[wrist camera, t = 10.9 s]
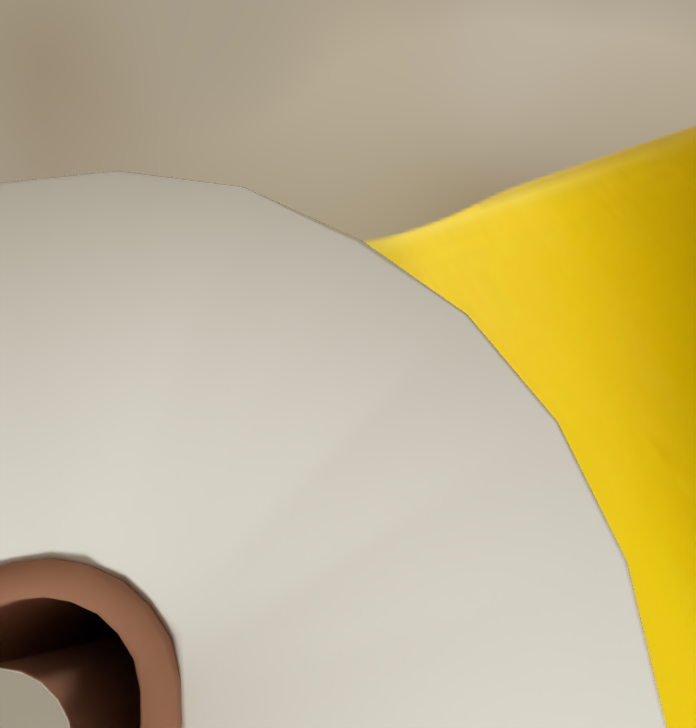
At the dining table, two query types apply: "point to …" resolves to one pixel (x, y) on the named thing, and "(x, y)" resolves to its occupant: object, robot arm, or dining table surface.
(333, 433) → the silver long cylinder
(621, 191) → the dining table surface
